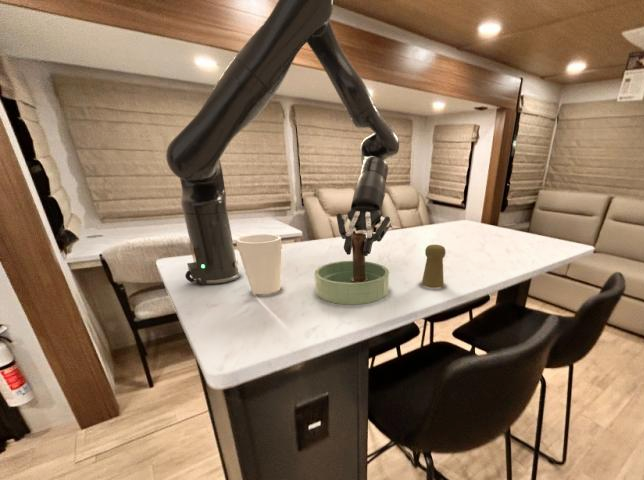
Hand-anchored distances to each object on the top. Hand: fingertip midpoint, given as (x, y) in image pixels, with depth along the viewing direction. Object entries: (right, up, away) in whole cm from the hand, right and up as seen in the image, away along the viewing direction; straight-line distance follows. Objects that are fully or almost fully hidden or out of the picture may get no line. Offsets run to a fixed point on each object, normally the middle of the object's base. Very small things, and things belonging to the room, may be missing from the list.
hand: (356, 253), depth 72 cm
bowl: (-2, -9, +5) cm, 10 cm away
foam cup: (-22, -9, +3) cm, 24 cm away
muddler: (0, -8, +5) cm, 9 cm away
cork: (+19, -7, +11) cm, 23 cm away
